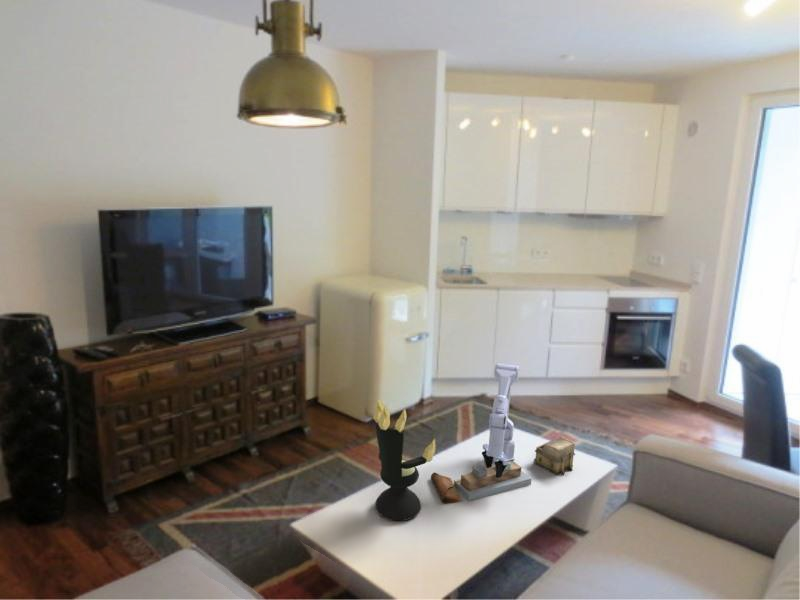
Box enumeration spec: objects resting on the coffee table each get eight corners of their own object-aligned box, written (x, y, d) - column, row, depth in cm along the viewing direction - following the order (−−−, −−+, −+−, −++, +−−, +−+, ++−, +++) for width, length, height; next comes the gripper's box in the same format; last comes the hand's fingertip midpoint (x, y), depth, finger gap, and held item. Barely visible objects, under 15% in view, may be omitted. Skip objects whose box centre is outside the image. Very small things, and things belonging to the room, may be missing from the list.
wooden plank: (511, 469, 230) (512, 461, 229) (520, 476, 226) (521, 467, 225) (460, 484, 218) (461, 475, 217) (468, 491, 213) (469, 482, 212)
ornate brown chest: (578, 467, 240) (581, 443, 237) (559, 477, 231) (562, 452, 228) (549, 453, 251) (552, 430, 248) (530, 462, 242) (532, 438, 240)
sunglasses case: (464, 502, 210) (456, 489, 208) (448, 511, 210) (441, 499, 208) (450, 477, 227) (442, 465, 225) (435, 486, 227) (428, 474, 225)
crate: (480, 470, 221) (481, 465, 220) (487, 476, 217) (487, 470, 216) (472, 472, 219) (472, 466, 218) (478, 478, 215) (478, 472, 214)
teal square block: (503, 464, 226) (504, 458, 226) (510, 469, 223) (510, 463, 222) (495, 465, 225) (496, 460, 224) (502, 471, 221) (502, 465, 220)
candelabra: (433, 507, 206) (440, 394, 196) (399, 537, 188) (405, 414, 178) (392, 490, 216) (396, 381, 206) (356, 517, 198) (359, 399, 188)
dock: (513, 471, 234) (514, 465, 233) (530, 484, 225) (531, 478, 224) (453, 486, 221) (454, 480, 220) (469, 500, 211) (469, 494, 211)
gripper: (477, 435, 223) (475, 466, 226) (499, 451, 210) (496, 484, 213) (491, 432, 226) (489, 462, 229) (514, 448, 214) (511, 480, 216)
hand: (493, 472), depth 221 cm, fingers open, 6 cm apart
